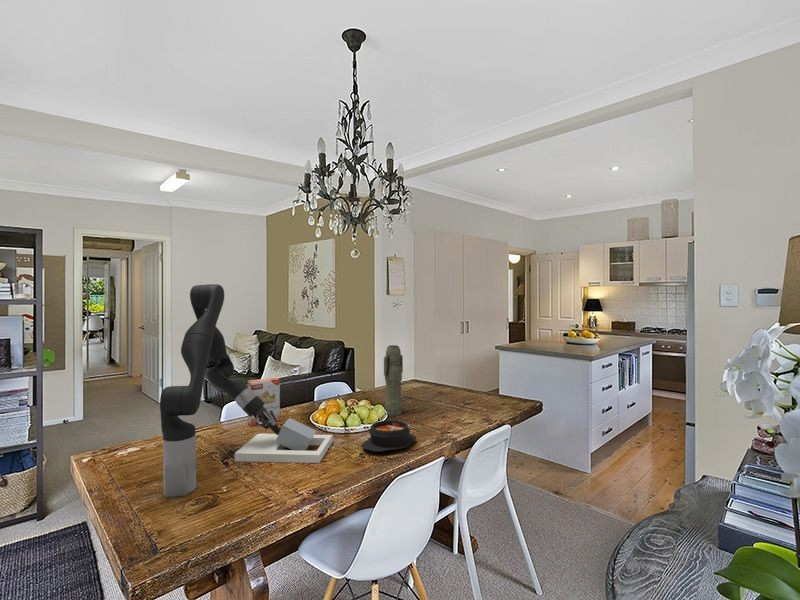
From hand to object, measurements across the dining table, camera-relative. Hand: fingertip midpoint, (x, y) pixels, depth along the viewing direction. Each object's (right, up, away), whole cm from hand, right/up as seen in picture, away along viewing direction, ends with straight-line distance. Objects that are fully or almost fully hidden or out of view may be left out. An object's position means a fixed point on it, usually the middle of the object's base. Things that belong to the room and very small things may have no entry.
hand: (279, 433), depth 169 cm
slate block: (+5, -4, 0) cm, 7 cm away
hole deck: (+3, -7, 0) cm, 8 cm away
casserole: (+43, -7, +5) cm, 44 cm away
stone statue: (+44, -6, +51) cm, 68 cm away
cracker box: (-18, -7, +37) cm, 42 cm away
